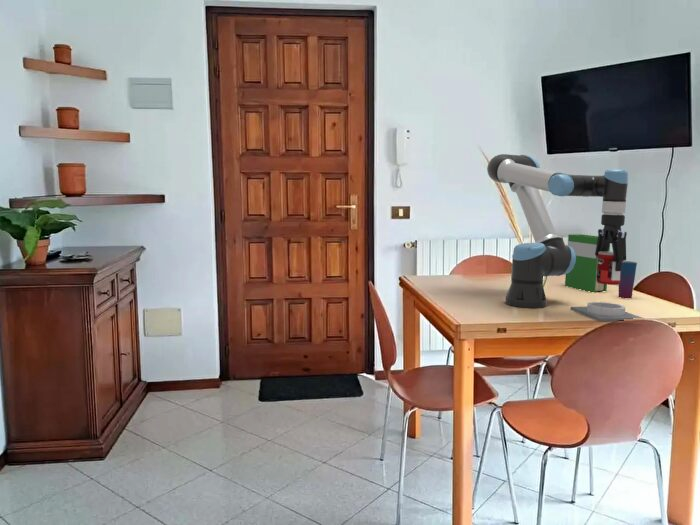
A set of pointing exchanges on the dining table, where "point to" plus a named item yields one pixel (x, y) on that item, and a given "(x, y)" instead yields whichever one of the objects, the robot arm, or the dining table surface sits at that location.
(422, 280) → the dining table surface
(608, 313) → the holder
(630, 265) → the cup
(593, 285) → the hardback book
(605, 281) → the canned food
